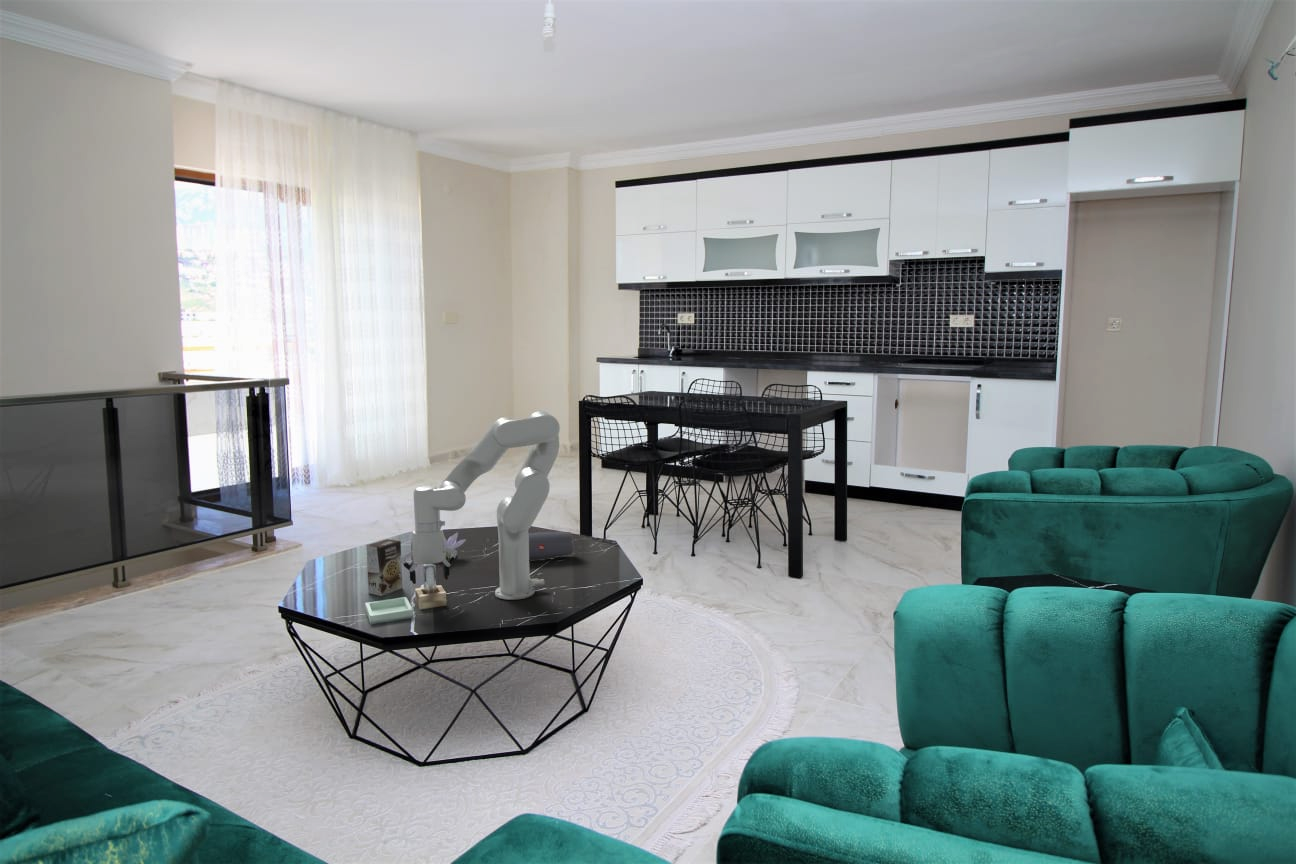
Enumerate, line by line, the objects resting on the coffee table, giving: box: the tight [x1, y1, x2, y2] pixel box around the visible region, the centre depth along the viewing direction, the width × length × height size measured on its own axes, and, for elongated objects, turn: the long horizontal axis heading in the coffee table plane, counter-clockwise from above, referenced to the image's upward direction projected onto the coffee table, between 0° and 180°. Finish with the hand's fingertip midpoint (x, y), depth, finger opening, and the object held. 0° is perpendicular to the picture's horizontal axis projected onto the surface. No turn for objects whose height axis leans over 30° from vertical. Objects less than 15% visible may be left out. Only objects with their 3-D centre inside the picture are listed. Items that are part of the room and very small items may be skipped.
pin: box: [422, 563, 437, 594], centre depth 244 cm, size 4×4×12 cm
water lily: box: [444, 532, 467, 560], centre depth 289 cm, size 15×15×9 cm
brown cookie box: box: [366, 538, 403, 597], centre depth 255 cm, size 9×6×16 cm
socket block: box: [414, 584, 447, 610], centre depth 245 cm, size 8×8×4 cm
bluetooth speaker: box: [528, 531, 574, 561], centre depth 290 cm, size 23×9×10 cm, turn 104°
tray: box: [364, 596, 414, 625], centre depth 236 cm, size 12×12×2 cm
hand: (429, 580), depth 244 cm, fingers open, 9 cm apart
